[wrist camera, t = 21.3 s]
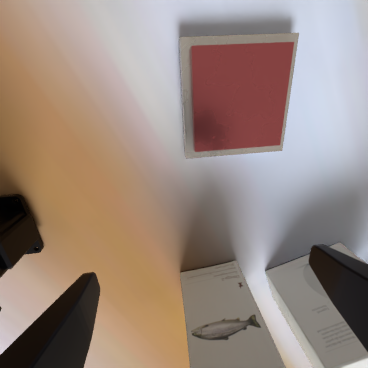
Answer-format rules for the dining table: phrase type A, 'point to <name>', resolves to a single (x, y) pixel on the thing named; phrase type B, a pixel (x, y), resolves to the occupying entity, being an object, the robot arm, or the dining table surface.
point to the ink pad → (235, 92)
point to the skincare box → (315, 315)
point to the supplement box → (225, 321)
